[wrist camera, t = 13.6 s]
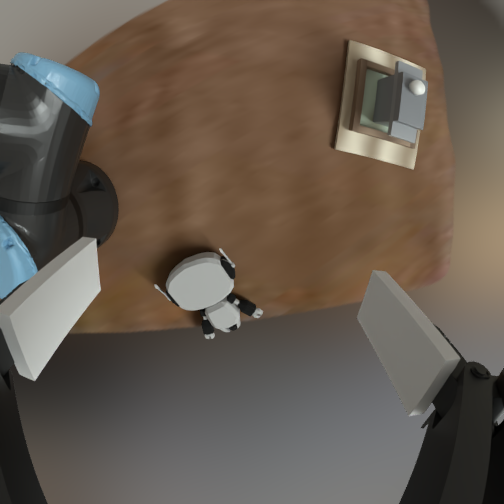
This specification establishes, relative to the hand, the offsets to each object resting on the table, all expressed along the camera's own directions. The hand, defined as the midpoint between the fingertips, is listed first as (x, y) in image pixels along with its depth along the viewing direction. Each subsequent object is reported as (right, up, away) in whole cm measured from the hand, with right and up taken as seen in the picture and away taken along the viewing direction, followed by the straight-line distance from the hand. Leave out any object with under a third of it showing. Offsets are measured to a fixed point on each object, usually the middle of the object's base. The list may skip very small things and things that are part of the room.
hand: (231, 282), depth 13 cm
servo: (+21, +23, +23) cm, 39 cm away
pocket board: (+21, +24, +24) cm, 40 cm away
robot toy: (-6, -5, +35) cm, 36 cm away
